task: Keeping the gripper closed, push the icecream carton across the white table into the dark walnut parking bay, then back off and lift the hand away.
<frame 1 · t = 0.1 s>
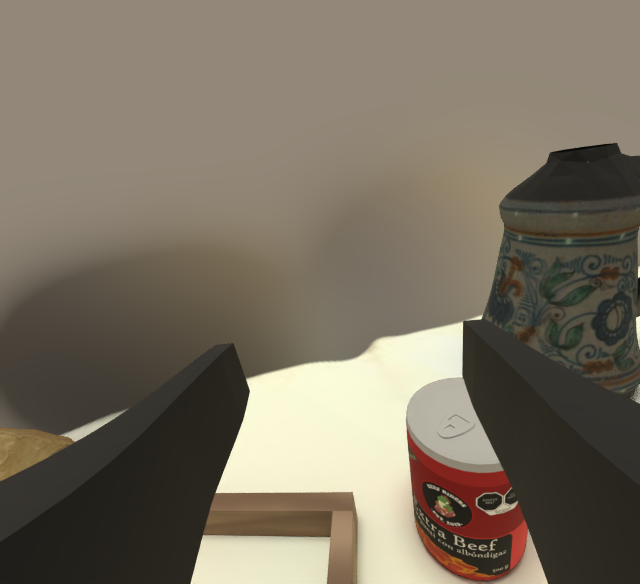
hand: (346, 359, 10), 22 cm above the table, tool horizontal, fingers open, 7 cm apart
rock: (45, 503, 34), on the table
beer stein: (557, 368, 40), on the table
canned food: (467, 527, 25), on the table
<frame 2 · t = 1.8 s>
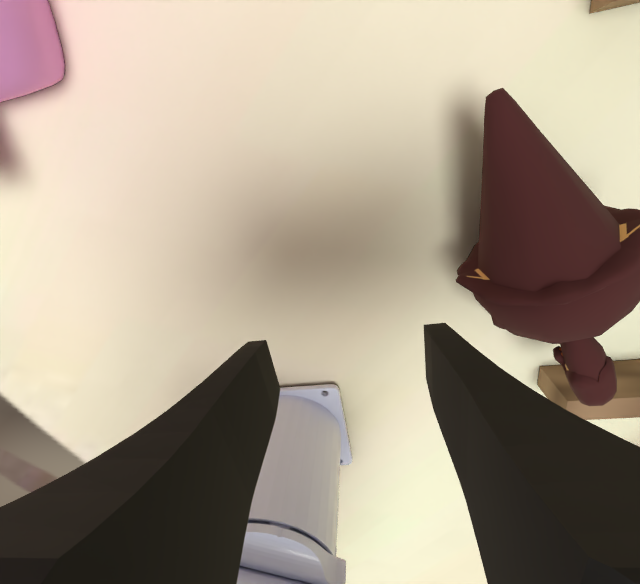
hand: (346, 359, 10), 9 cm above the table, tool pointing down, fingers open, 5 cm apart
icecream: (510, 238, 18), on the table
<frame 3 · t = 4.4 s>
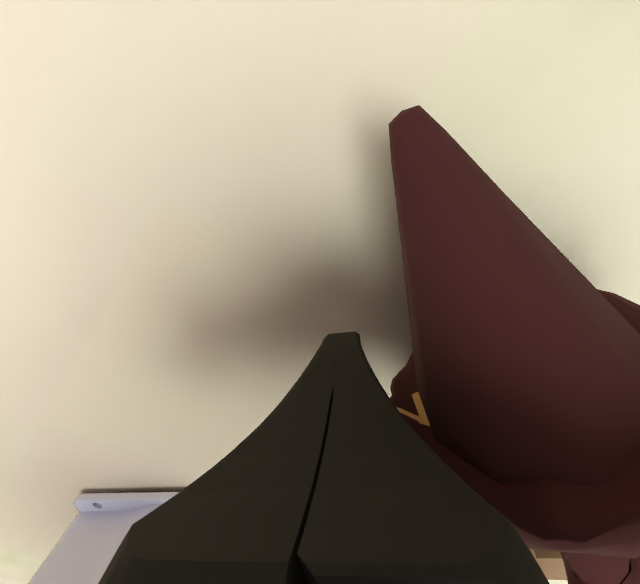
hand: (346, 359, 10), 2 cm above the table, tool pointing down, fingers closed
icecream: (478, 323, 12), on the table, touching gripper
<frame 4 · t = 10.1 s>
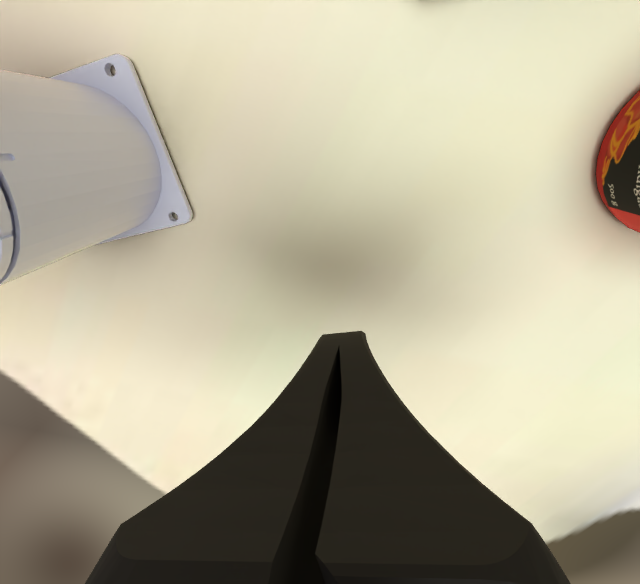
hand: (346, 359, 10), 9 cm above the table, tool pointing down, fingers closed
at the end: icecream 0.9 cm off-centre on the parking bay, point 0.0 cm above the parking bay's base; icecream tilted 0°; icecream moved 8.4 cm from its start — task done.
